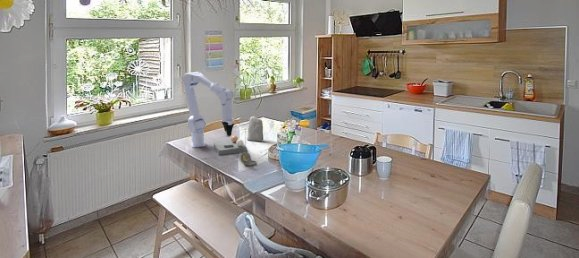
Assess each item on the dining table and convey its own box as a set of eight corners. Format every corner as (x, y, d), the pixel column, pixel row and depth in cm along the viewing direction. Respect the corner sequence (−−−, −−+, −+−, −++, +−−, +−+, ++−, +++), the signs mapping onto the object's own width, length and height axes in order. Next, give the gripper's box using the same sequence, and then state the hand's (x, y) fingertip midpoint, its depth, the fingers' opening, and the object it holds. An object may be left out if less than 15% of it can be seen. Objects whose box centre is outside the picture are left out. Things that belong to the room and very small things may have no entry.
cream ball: (235, 145, 217) (235, 139, 216) (242, 144, 218) (242, 138, 217) (237, 147, 213) (237, 140, 212) (244, 146, 215) (243, 139, 214)
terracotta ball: (230, 141, 225) (230, 135, 224) (237, 140, 226) (236, 134, 225) (232, 143, 221) (231, 136, 220) (238, 142, 223) (238, 136, 222)
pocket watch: (256, 161, 196) (256, 143, 194) (256, 167, 188) (255, 148, 186) (241, 162, 196) (240, 144, 194) (239, 167, 188) (238, 148, 185)
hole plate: (213, 146, 224) (213, 142, 223) (239, 143, 230) (239, 139, 229) (218, 154, 209) (218, 150, 208) (246, 151, 214) (246, 147, 214)
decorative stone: (265, 140, 236) (264, 117, 232) (259, 142, 231) (258, 118, 228) (251, 137, 242) (250, 115, 238) (245, 140, 237) (244, 117, 233)
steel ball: (224, 136, 215) (224, 129, 214) (231, 135, 216) (231, 128, 215) (225, 138, 212) (224, 131, 210) (232, 137, 213) (232, 131, 212)
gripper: (237, 113, 205) (238, 137, 208) (231, 108, 218) (232, 131, 222) (224, 114, 203) (225, 138, 206) (219, 109, 216) (220, 132, 219)
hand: (228, 134), depth 214 cm, fingers closed on steel ball, 4 cm apart
